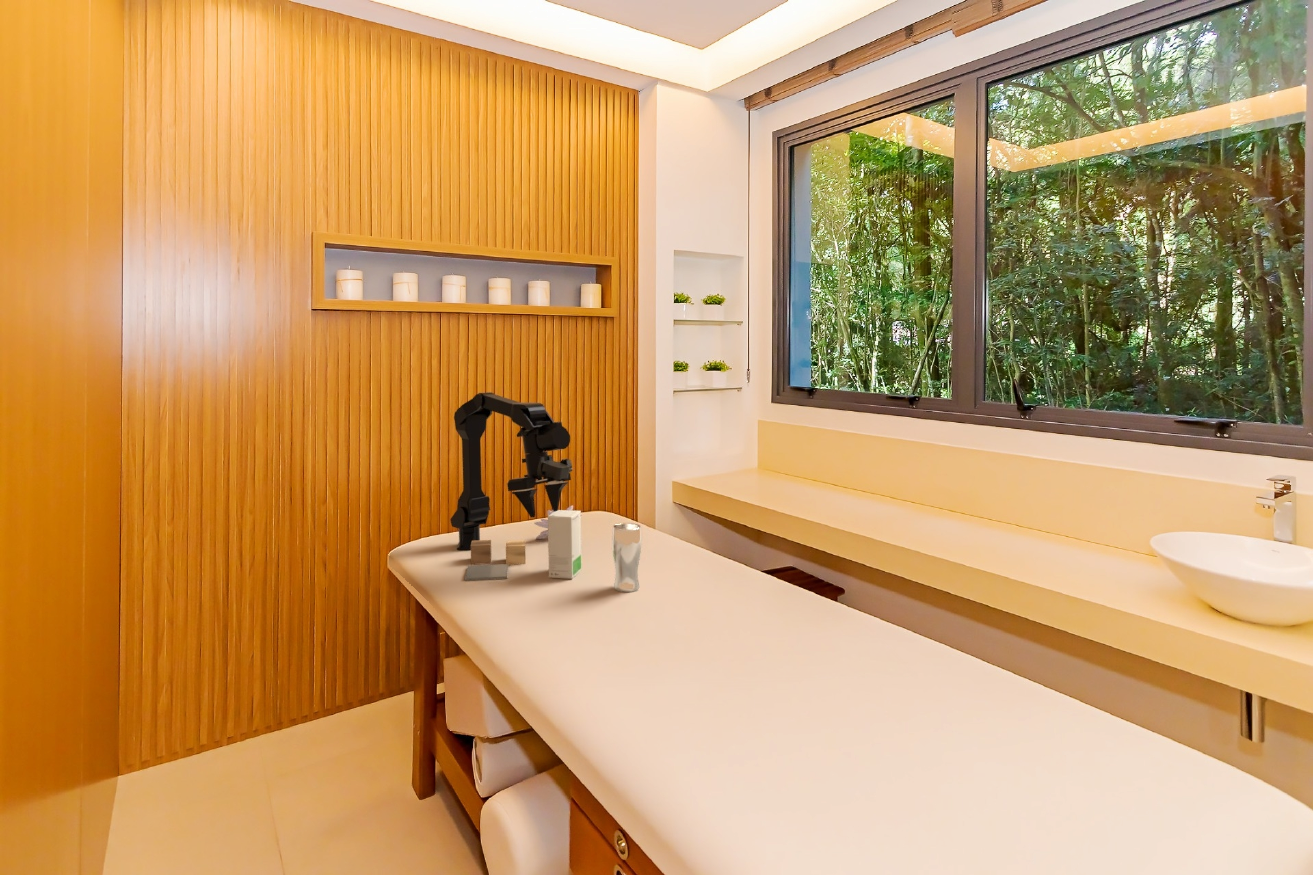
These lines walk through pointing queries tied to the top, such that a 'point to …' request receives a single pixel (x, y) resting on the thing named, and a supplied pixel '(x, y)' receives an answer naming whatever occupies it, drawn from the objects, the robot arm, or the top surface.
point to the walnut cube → (481, 551)
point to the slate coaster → (486, 572)
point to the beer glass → (626, 555)
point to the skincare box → (564, 544)
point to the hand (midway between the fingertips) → (544, 514)
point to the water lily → (546, 524)
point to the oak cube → (515, 552)
